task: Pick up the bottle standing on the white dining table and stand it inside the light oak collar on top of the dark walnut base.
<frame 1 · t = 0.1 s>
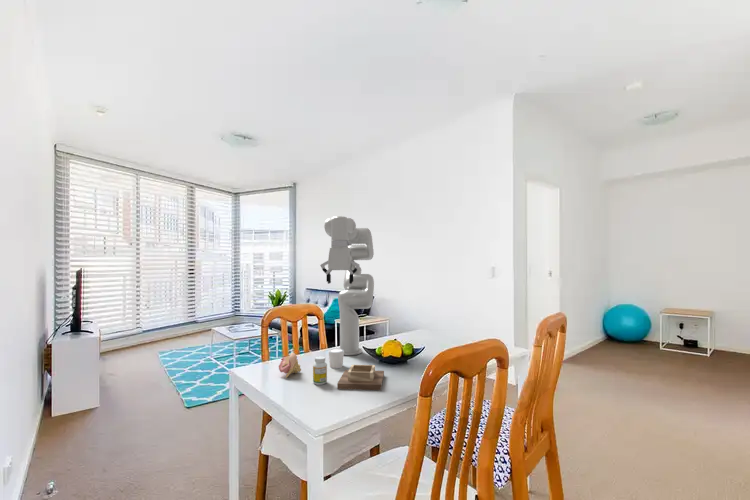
hand: (339, 283, 161), 37 cm above the table, tool pointing down, fingers open, 9 cm apart
walnut base: (361, 382, 141), on the table
supplement bottle: (320, 383, 141), on the table
white lidded jar: (336, 366, 161), on the table
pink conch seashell: (289, 375, 150), on the table
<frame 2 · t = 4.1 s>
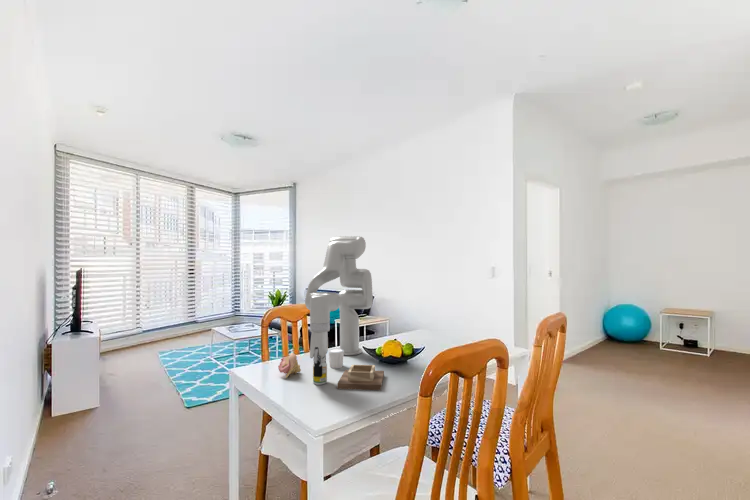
hand: (320, 373, 141), 4 cm above the table, tool pointing down, fingers closed on supplement bottle, 5 cm apart
supplement bottle: (320, 383, 141), on the table, touching gripper
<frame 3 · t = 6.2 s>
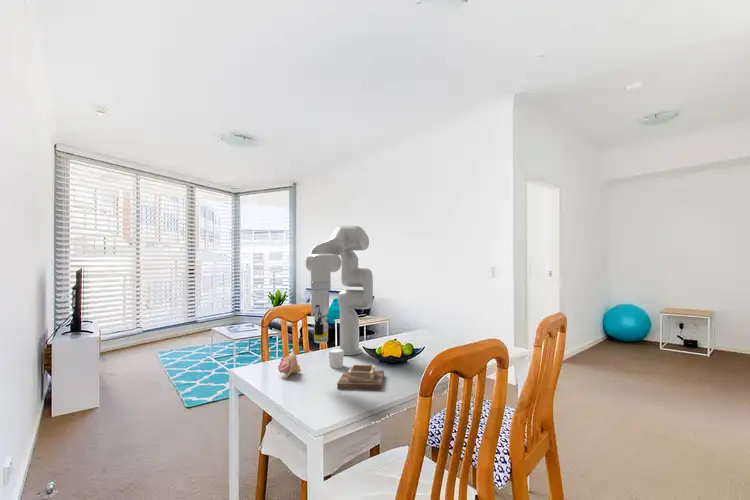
hand: (321, 332, 141), 19 cm above the table, tool pointing down, fingers closed on supplement bottle, 5 cm apart
supplement bottle: (321, 342, 141), point 15 cm above the table, touching gripper
everything else where it was.
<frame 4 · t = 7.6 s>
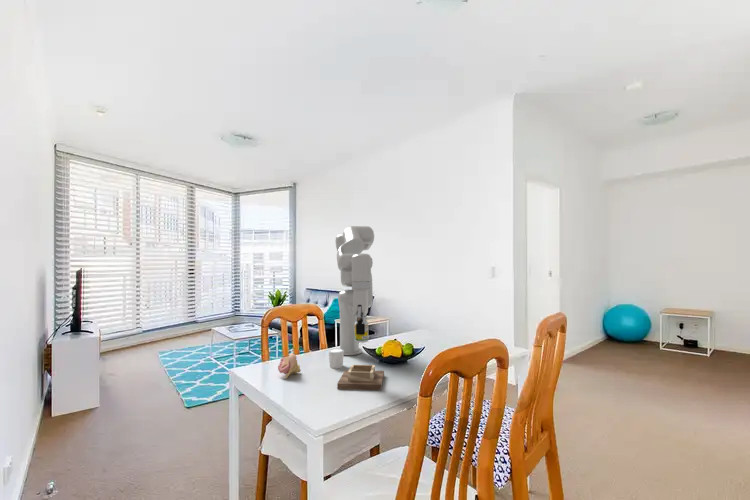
hand: (361, 332, 141), 19 cm above the table, tool pointing down, fingers closed on supplement bottle, 5 cm apart
supplement bottle: (361, 341, 141), point 16 cm above the table, touching gripper
everything else where it was.
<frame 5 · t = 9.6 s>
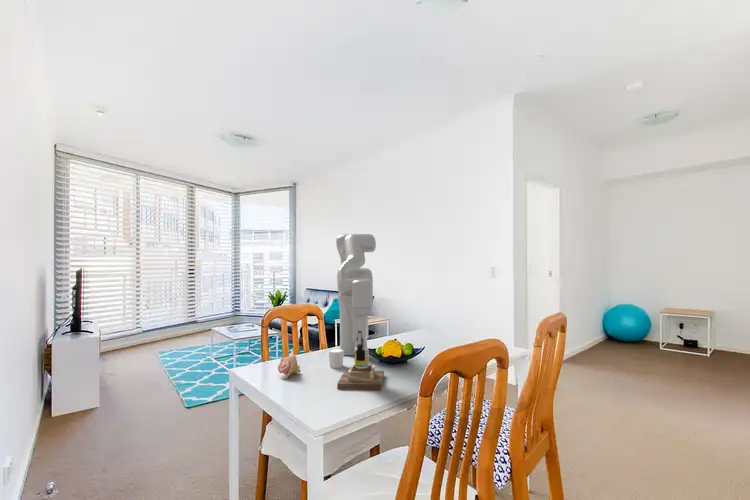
hand: (361, 357, 141), 9 cm above the table, tool pointing down, fingers closed on supplement bottle, 5 cm apart
supplement bottle: (361, 367, 141), point 6 cm above the table, touching gripper
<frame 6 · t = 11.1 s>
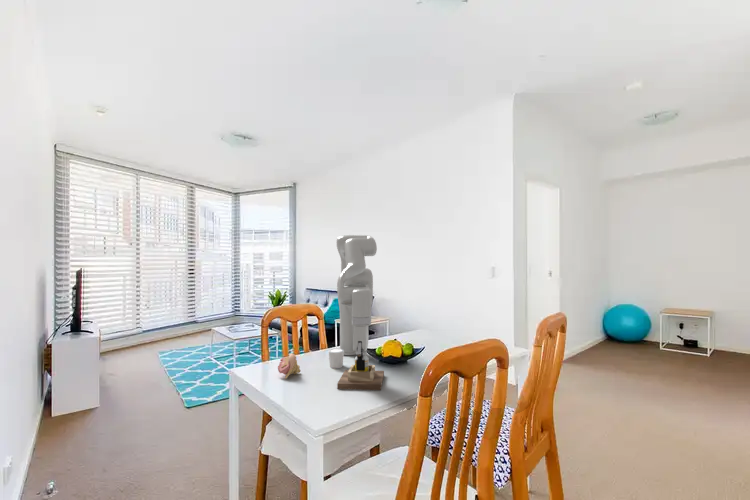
hand: (361, 367, 141), 6 cm above the table, tool pointing down, fingers closed on supplement bottle, 5 cm apart
supplement bottle: (361, 376, 141), point 2 cm above the table, touching gripper
when the fingers open (6 cm above the table, at t = 12.4 s): supplement bottle stays where it is, resting on walnut base.
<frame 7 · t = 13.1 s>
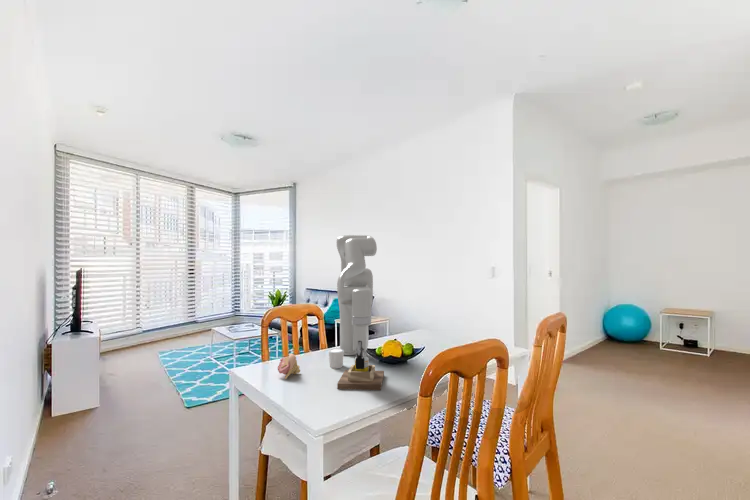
hand: (361, 364, 141), 7 cm above the table, tool pointing down, fingers open, 9 cm apart
supplement bottle: (361, 377, 141), point 2 cm above the table, touching walnut base
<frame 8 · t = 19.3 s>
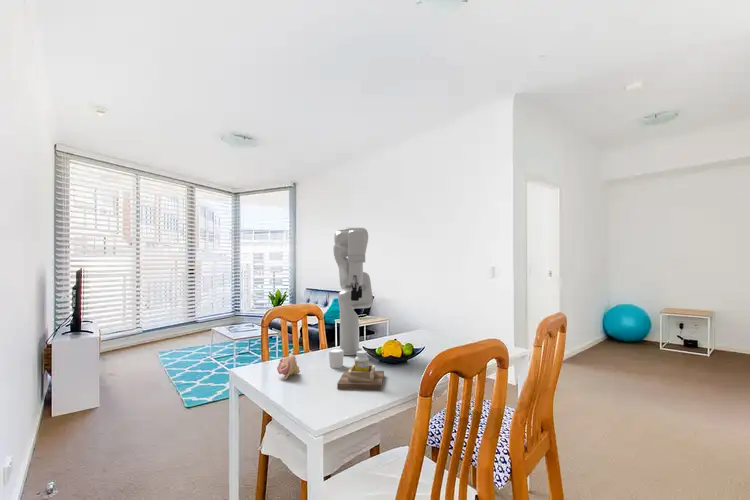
hand: (356, 299, 156), 30 cm above the table, tool pointing down, fingers open, 9 cm apart
at the end: supplement bottle 0.3 cm off-centre on the walnut base, point 1.8 cm above the walnut base's base; supplement bottle tilted 0°; the gripper is holding nothing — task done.
